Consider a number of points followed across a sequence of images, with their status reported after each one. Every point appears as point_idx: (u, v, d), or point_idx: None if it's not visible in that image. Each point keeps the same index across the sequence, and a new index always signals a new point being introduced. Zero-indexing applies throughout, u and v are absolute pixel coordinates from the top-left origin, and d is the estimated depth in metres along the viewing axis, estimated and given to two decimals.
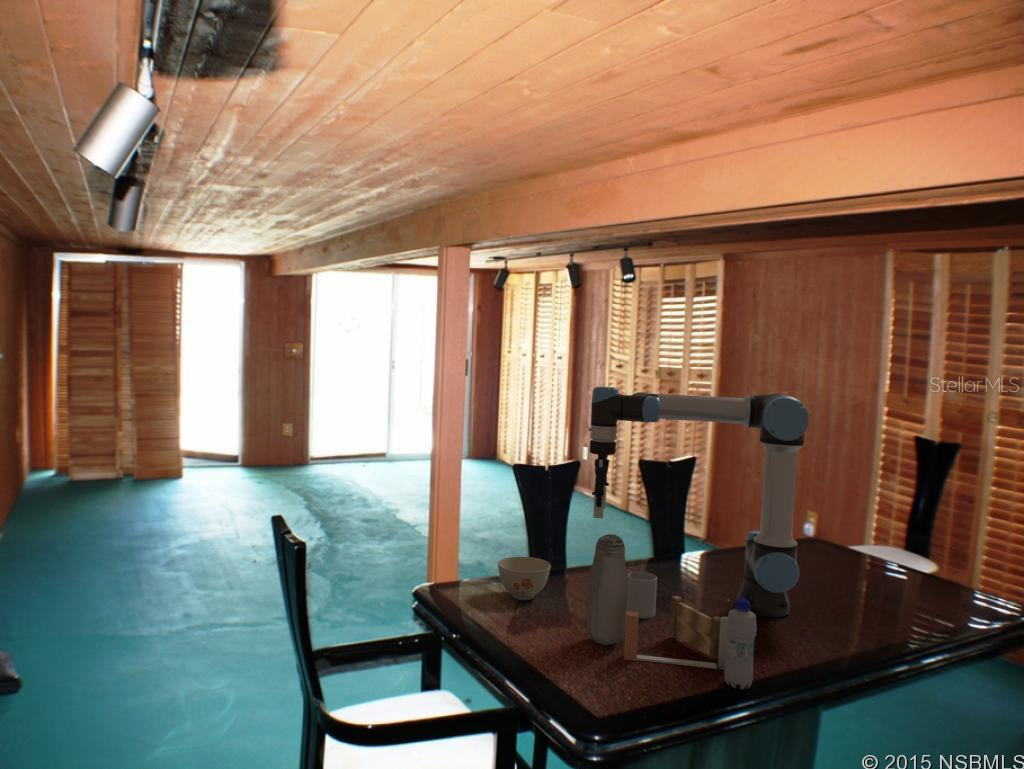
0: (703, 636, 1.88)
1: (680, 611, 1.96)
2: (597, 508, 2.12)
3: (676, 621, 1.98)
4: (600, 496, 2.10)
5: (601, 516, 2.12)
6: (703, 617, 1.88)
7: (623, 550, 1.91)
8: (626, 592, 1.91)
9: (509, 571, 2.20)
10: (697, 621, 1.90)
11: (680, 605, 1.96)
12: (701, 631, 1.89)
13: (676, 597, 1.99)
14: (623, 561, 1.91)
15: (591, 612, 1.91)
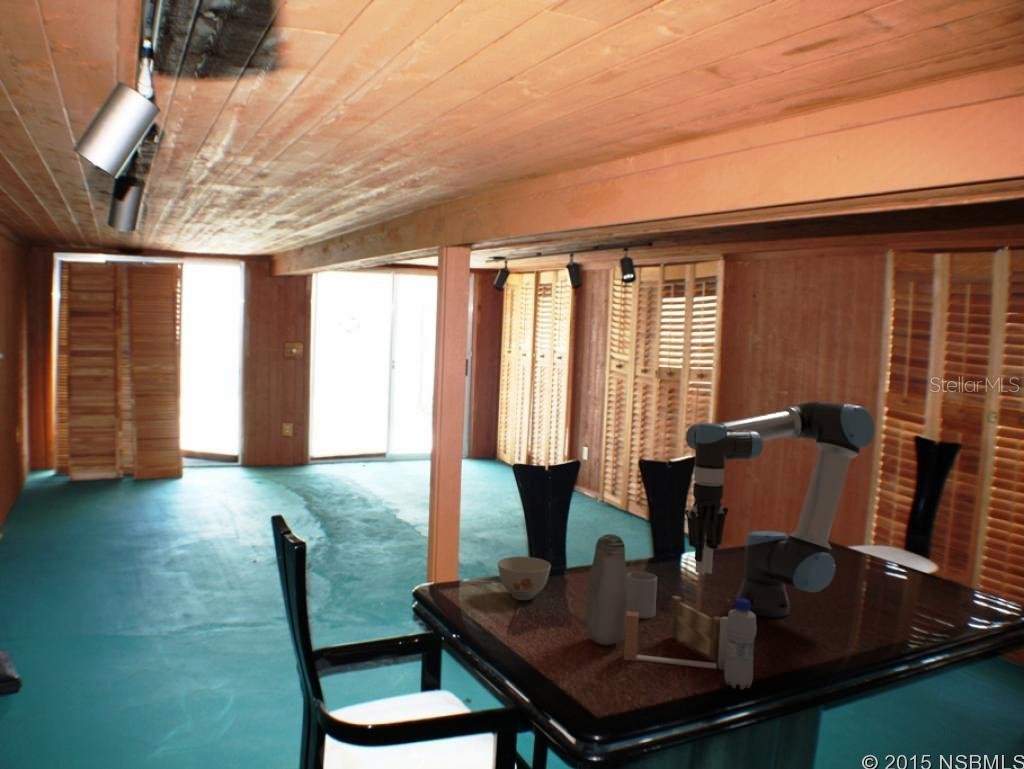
0: (703, 636, 1.88)
1: (680, 611, 1.96)
2: (698, 562, 1.96)
3: (676, 621, 1.98)
4: (698, 549, 1.94)
5: (701, 572, 1.95)
6: (703, 617, 1.88)
7: (623, 550, 1.91)
8: (626, 592, 1.91)
9: (509, 571, 2.20)
10: (697, 621, 1.90)
11: (680, 605, 1.96)
12: (701, 631, 1.89)
13: (676, 597, 1.99)
14: (623, 561, 1.91)
15: (591, 612, 1.91)
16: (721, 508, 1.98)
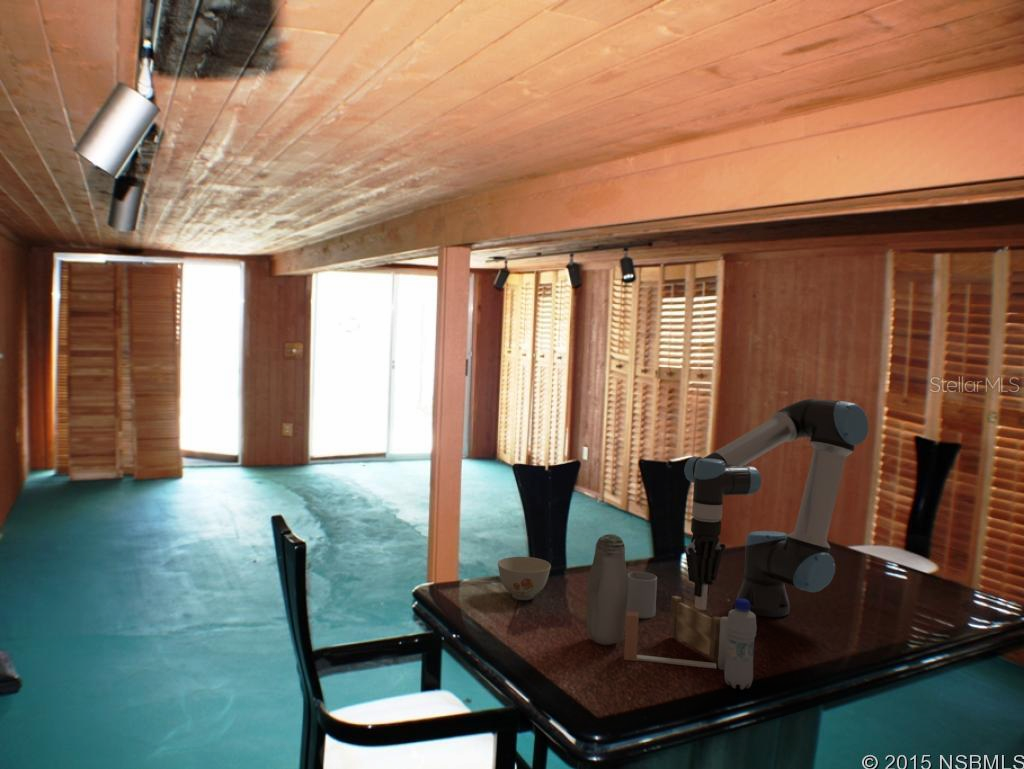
0: (703, 636, 1.88)
1: (680, 611, 1.96)
2: (698, 597, 1.96)
3: (676, 621, 1.98)
4: (697, 585, 1.95)
5: (701, 607, 1.95)
6: (703, 617, 1.88)
7: (623, 550, 1.91)
8: (626, 592, 1.91)
9: (509, 571, 2.20)
10: (697, 621, 1.90)
11: (680, 605, 1.96)
12: (701, 631, 1.89)
13: (676, 597, 1.99)
14: (623, 561, 1.91)
15: (591, 612, 1.91)
16: (718, 544, 1.98)
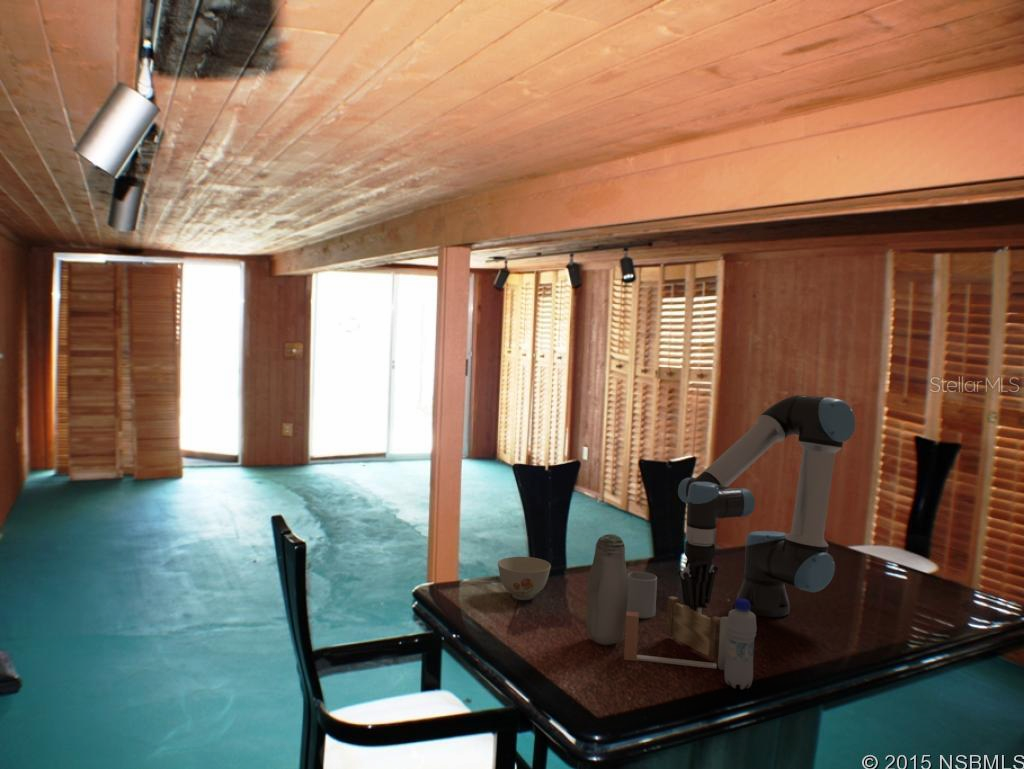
0: (702, 636, 1.88)
1: (677, 612, 1.96)
2: None
3: (673, 621, 1.97)
4: (692, 608, 1.95)
5: None
6: (702, 617, 1.88)
7: (623, 550, 1.91)
8: (626, 592, 1.91)
9: (509, 571, 2.20)
10: (695, 621, 1.90)
11: (677, 606, 1.96)
12: (700, 631, 1.88)
13: (673, 598, 1.98)
14: (623, 561, 1.91)
15: (591, 612, 1.91)
16: (711, 567, 1.98)
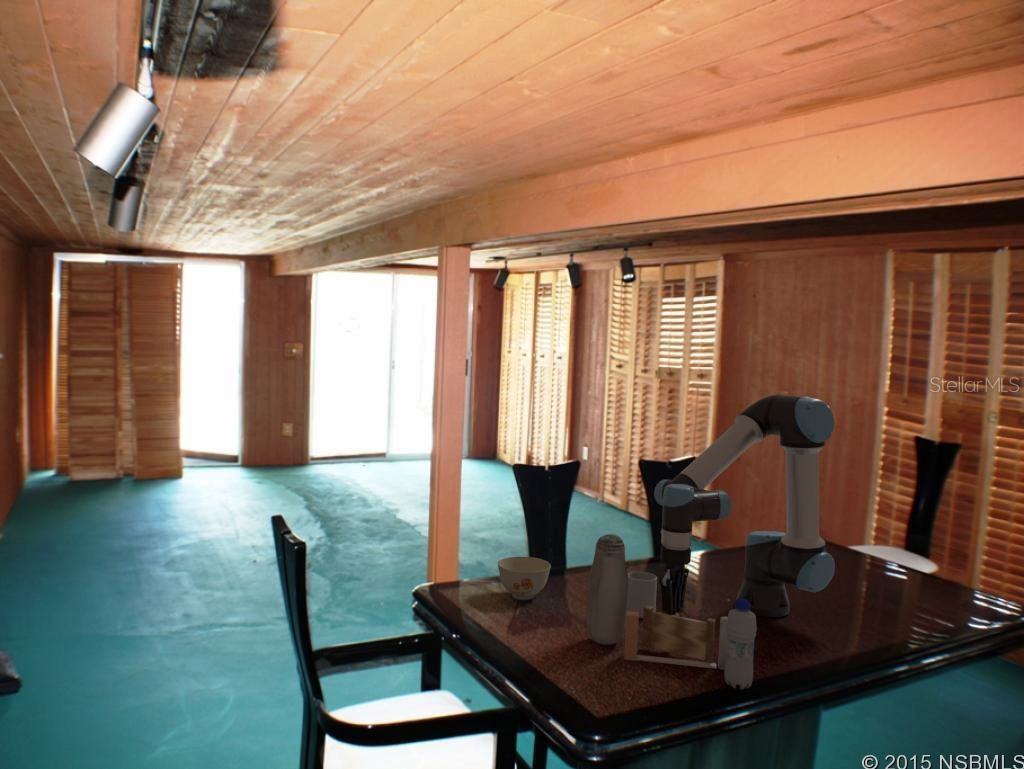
0: (694, 641, 1.84)
1: (657, 621, 1.89)
2: None
3: (651, 632, 1.89)
4: None
5: None
6: (693, 622, 1.84)
7: (623, 550, 1.91)
8: (626, 592, 1.91)
9: (509, 571, 2.20)
10: (684, 627, 1.85)
11: (657, 614, 1.89)
12: (691, 636, 1.85)
13: (649, 607, 1.90)
14: (623, 561, 1.91)
15: (591, 612, 1.91)
16: None
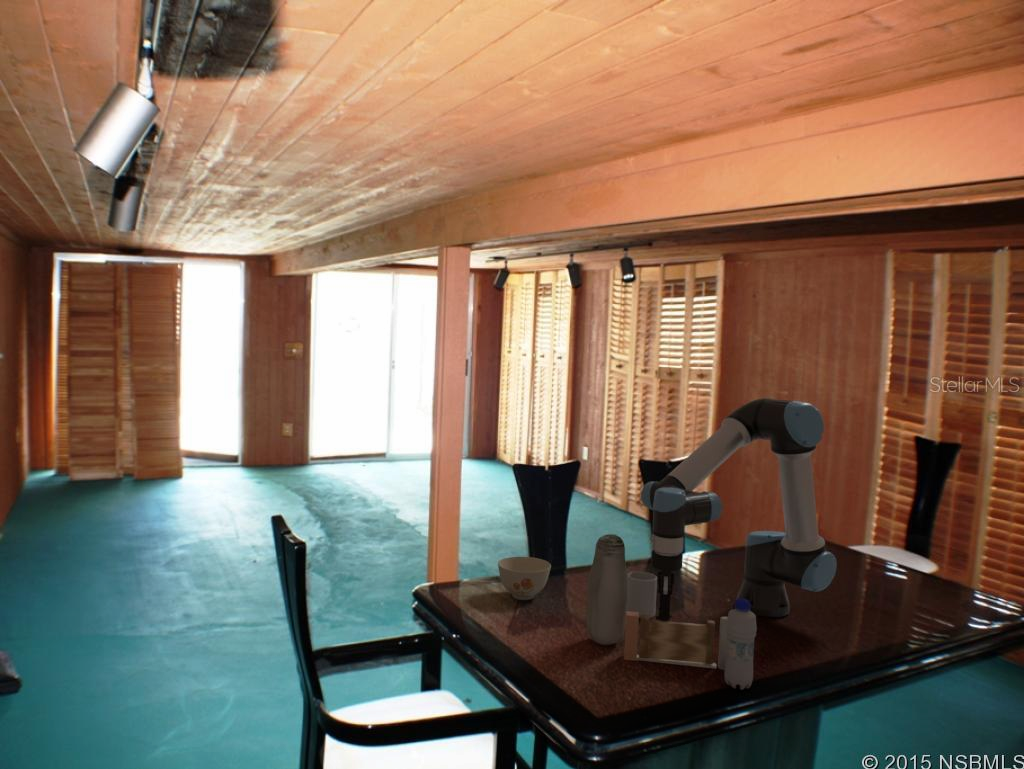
0: (694, 645, 1.82)
1: (655, 629, 1.83)
2: None
3: (648, 641, 1.83)
4: None
5: None
6: (693, 626, 1.82)
7: (623, 550, 1.91)
8: (626, 592, 1.91)
9: (509, 571, 2.20)
10: (684, 633, 1.82)
11: (655, 623, 1.83)
12: (691, 641, 1.82)
13: (645, 616, 1.83)
14: (623, 561, 1.91)
15: (591, 612, 1.91)
16: None
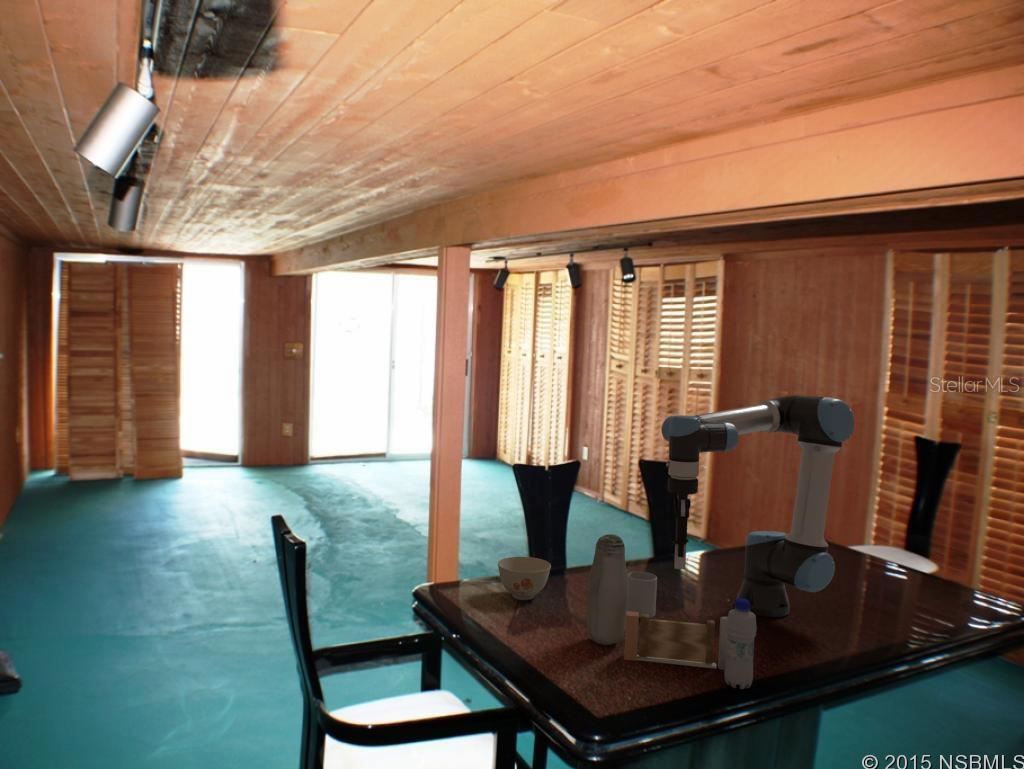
0: (694, 645, 1.82)
1: (655, 628, 1.83)
2: (679, 558, 1.92)
3: (648, 640, 1.84)
4: (682, 545, 1.90)
5: (683, 567, 1.92)
6: (693, 626, 1.82)
7: (623, 550, 1.91)
8: (626, 592, 1.91)
9: (509, 571, 2.20)
10: (683, 632, 1.82)
11: (655, 622, 1.83)
12: (690, 641, 1.82)
13: (645, 615, 1.84)
14: (623, 561, 1.91)
15: (591, 612, 1.91)
16: None
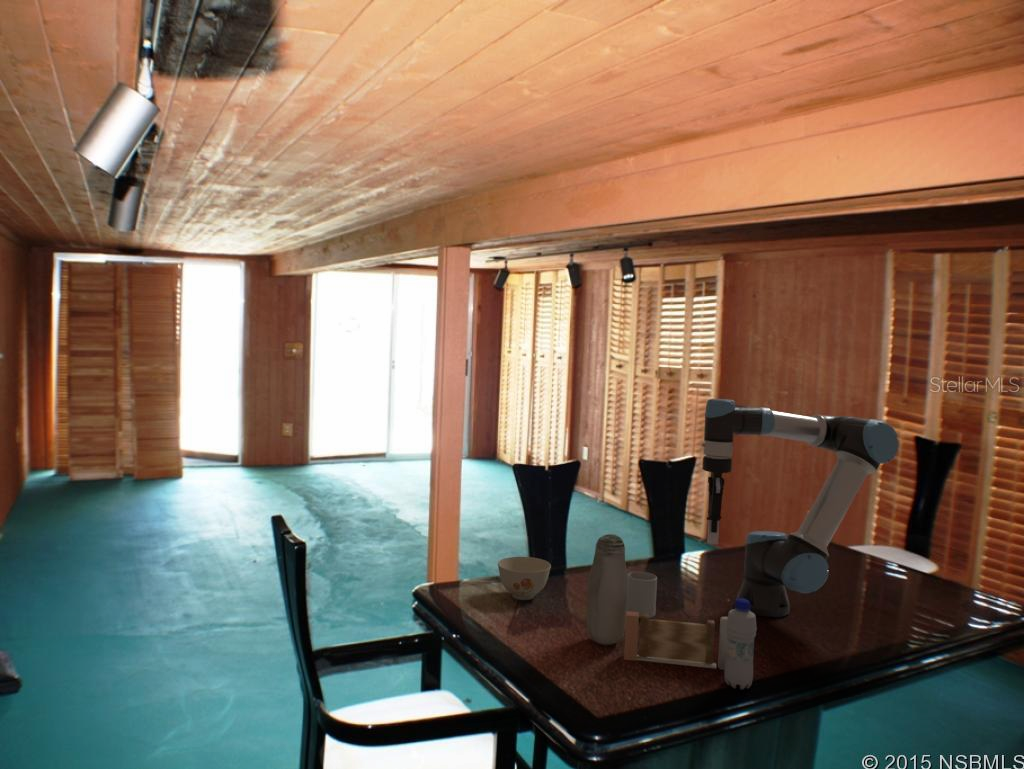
0: (694, 645, 1.82)
1: (655, 628, 1.83)
2: (712, 533, 2.03)
3: (648, 640, 1.84)
4: (716, 521, 2.01)
5: (716, 542, 2.03)
6: (693, 626, 1.82)
7: (623, 550, 1.91)
8: (626, 592, 1.91)
9: (509, 571, 2.20)
10: (683, 632, 1.82)
11: (655, 622, 1.83)
12: (690, 641, 1.82)
13: (645, 615, 1.84)
14: (623, 561, 1.91)
15: (591, 612, 1.91)
16: None
